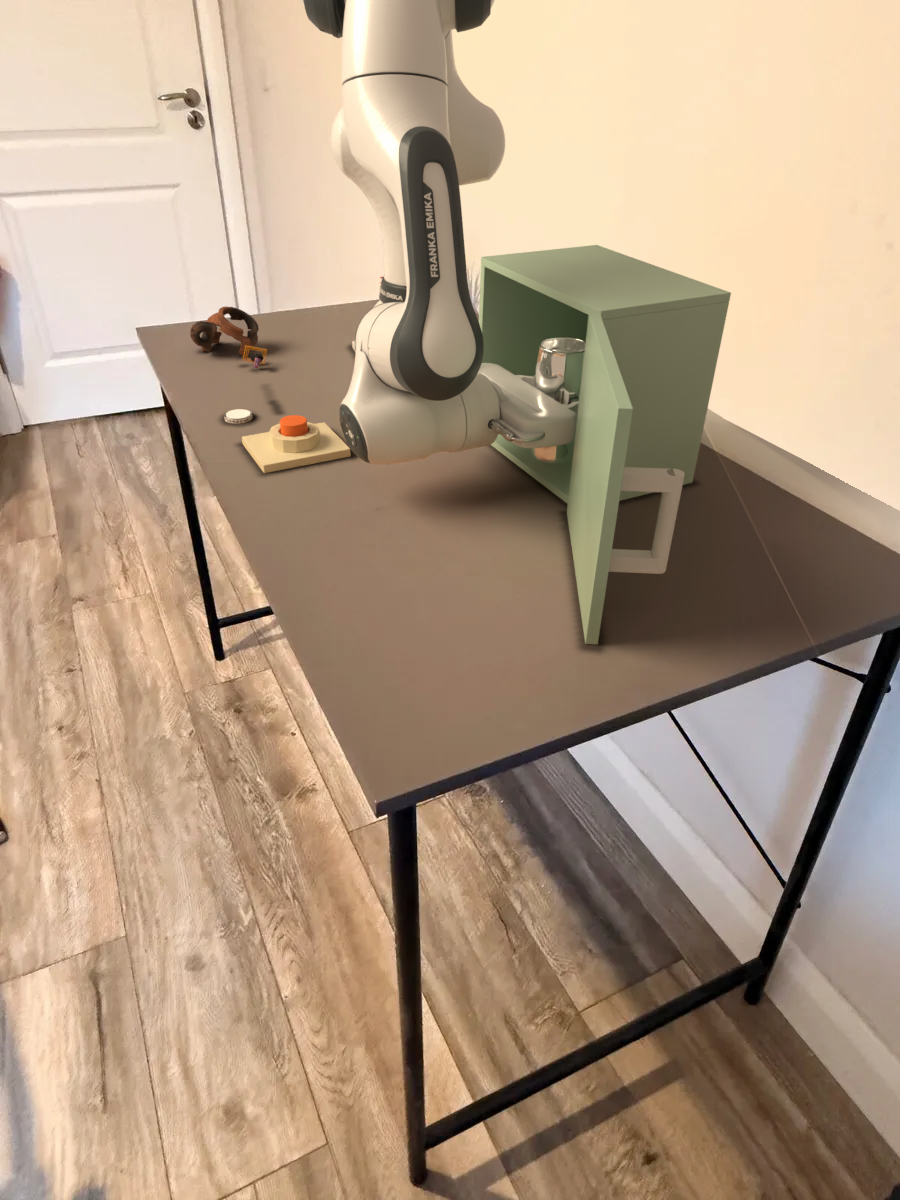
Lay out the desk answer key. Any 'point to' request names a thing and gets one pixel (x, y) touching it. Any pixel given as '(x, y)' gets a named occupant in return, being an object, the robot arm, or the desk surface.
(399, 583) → the desk surface
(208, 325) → the brown curved piece
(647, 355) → the green cabinet
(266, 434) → the control box
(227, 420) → the washi tape
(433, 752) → the desk surface
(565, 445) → the beer glass
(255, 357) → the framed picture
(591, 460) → the green cabinet door
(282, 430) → the button
